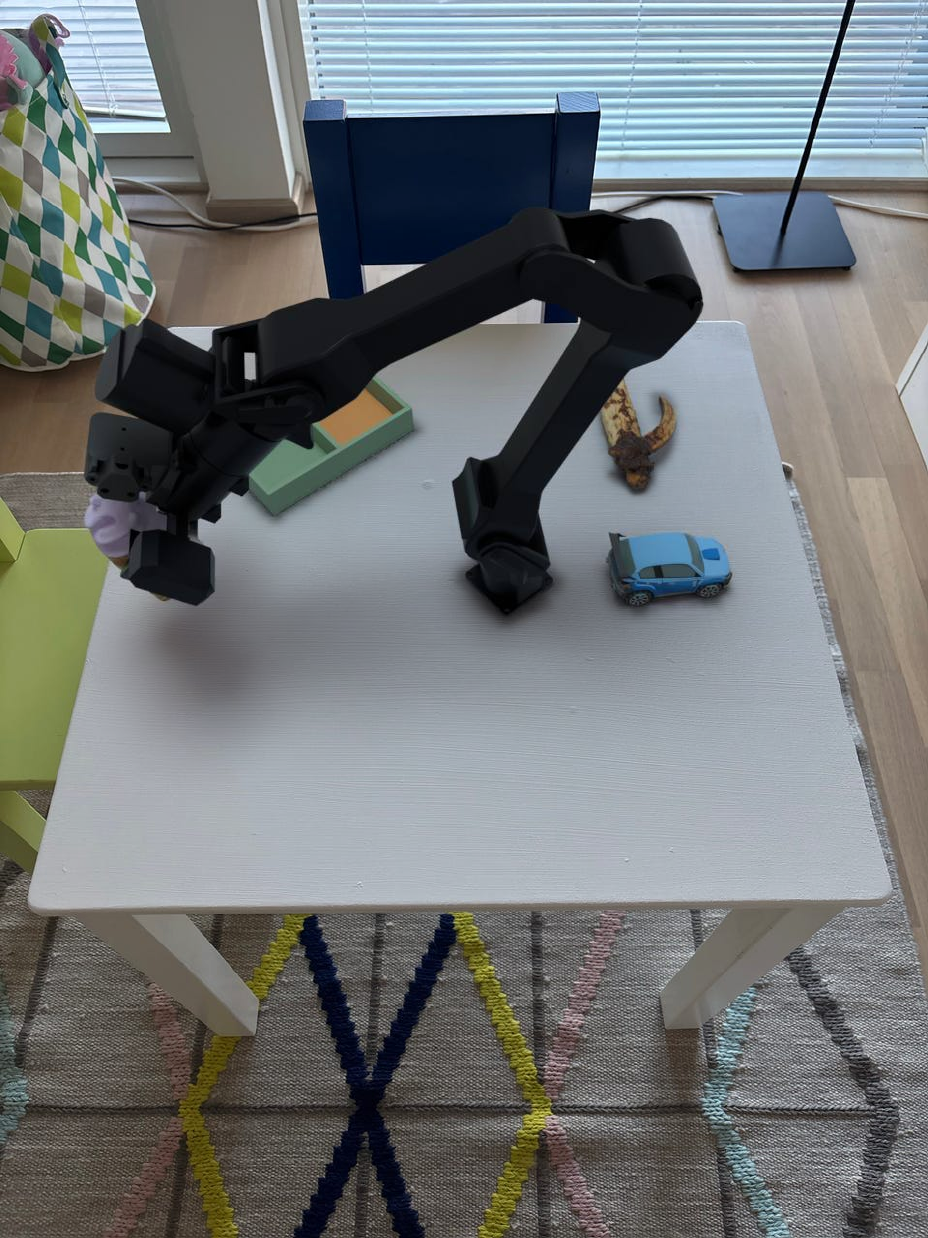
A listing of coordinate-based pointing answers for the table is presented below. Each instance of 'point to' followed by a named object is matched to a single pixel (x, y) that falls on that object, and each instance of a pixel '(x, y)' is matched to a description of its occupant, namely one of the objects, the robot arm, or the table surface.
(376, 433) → the divided tray
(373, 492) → the table surface
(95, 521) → the ice cream cone
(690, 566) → the toy car
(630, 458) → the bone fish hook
